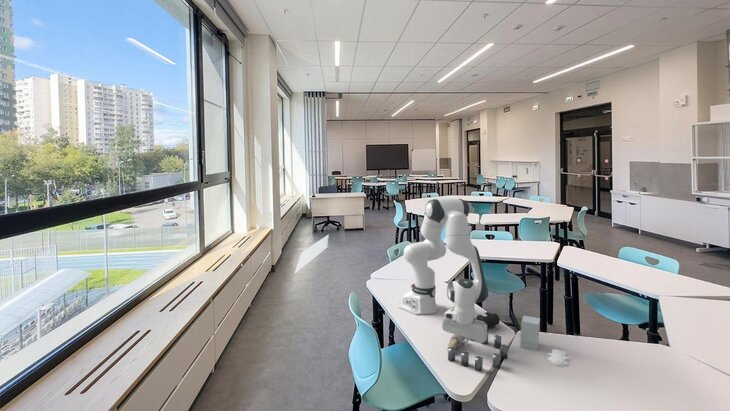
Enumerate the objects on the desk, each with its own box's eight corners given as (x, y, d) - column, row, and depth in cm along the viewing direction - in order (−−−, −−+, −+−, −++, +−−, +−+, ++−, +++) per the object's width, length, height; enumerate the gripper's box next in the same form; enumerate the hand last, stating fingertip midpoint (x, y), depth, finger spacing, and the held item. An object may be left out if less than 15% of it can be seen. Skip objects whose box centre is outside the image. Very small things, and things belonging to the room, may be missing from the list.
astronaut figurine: (571, 356, 166) (572, 350, 165) (566, 369, 156) (566, 362, 156) (550, 350, 171) (550, 344, 171) (543, 362, 162) (543, 355, 161)
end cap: (486, 333, 187) (486, 320, 186) (475, 327, 193) (475, 315, 192) (499, 327, 192) (500, 315, 191) (488, 322, 198) (488, 310, 197)
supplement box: (537, 351, 170) (538, 324, 168) (519, 347, 173) (520, 321, 171) (538, 343, 176) (540, 318, 174) (521, 340, 180) (522, 314, 178)
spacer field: (446, 360, 164) (447, 349, 163) (470, 336, 183) (470, 327, 182) (492, 376, 152) (493, 365, 151) (513, 350, 171) (513, 339, 170)
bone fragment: (453, 338, 182) (453, 329, 181) (466, 342, 178) (466, 333, 178) (441, 351, 171) (441, 342, 170) (455, 356, 167) (455, 346, 166)
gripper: (490, 319, 166) (489, 349, 168) (447, 308, 179) (446, 335, 181) (484, 325, 161) (483, 355, 163) (440, 312, 174) (440, 341, 176)
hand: (463, 345), depth 172 cm, fingers closed
